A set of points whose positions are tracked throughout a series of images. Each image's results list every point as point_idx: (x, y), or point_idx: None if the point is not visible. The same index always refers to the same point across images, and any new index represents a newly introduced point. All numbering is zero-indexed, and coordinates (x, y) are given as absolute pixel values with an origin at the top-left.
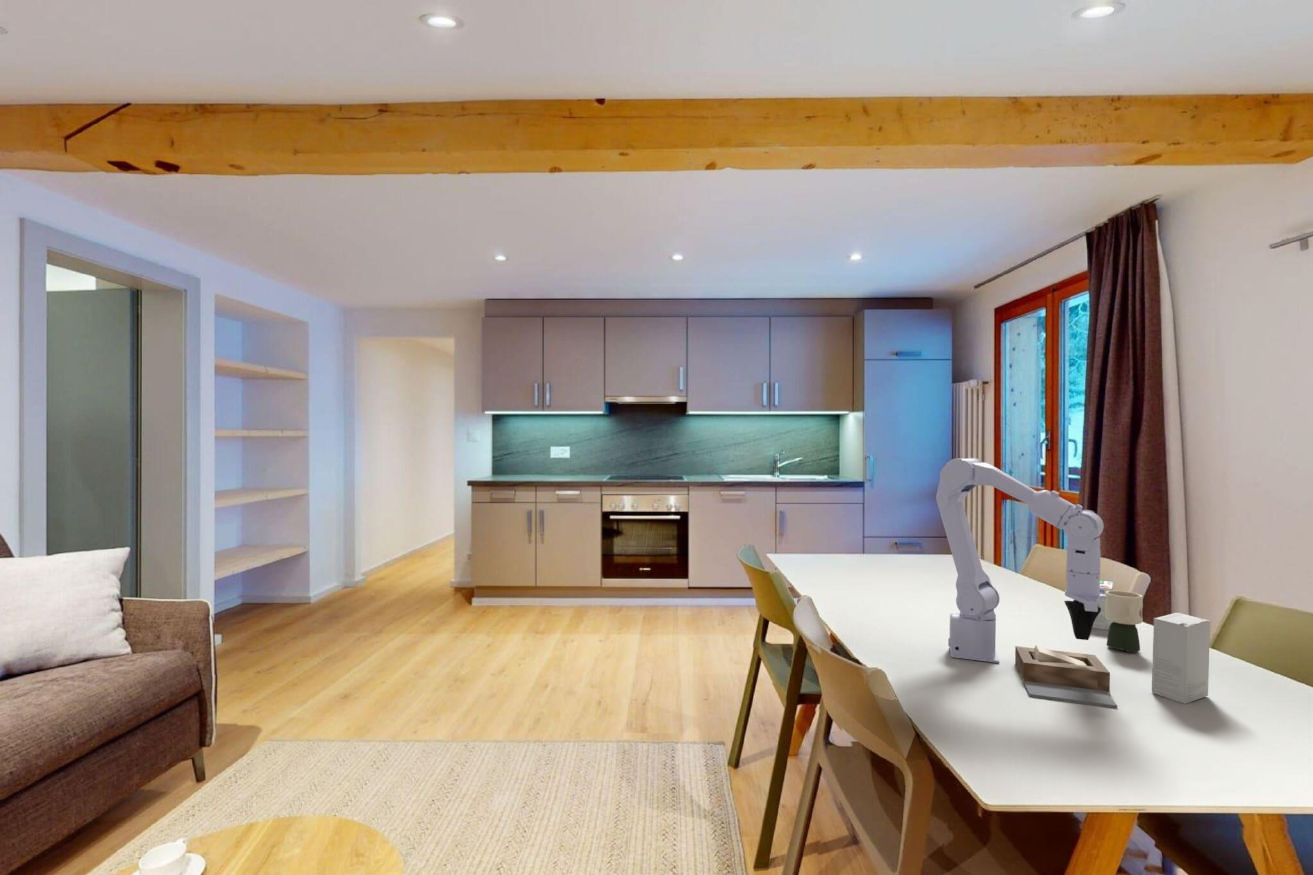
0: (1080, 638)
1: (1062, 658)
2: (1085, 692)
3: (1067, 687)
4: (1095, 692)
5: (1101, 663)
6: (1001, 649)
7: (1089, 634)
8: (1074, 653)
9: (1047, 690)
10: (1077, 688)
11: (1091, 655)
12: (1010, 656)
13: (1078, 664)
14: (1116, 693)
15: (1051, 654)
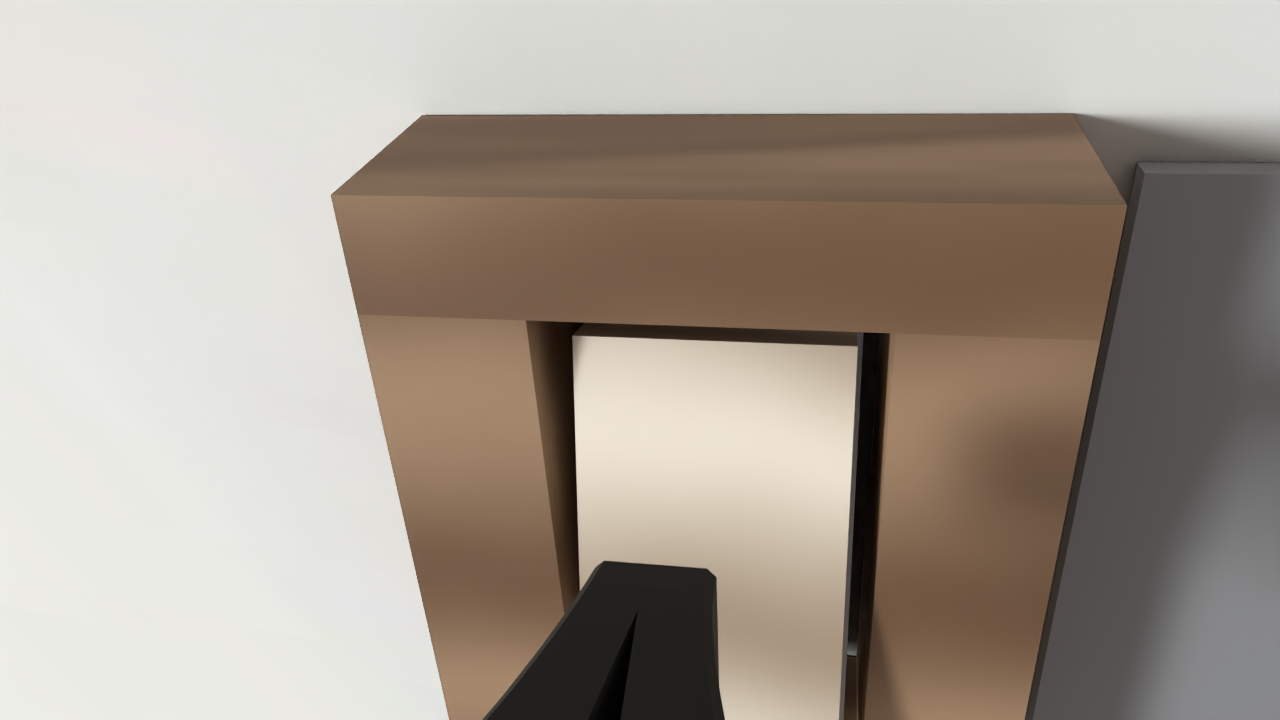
0: (716, 665)
1: (784, 608)
2: (1237, 387)
3: (1114, 502)
4: (1219, 295)
5: (699, 206)
6: (187, 685)
7: (707, 635)
8: (410, 409)
9: (1255, 666)
10: (1125, 428)
11: (377, 240)
12: (334, 669)
13: (819, 455)
14: (1081, 41)
15: (773, 711)
